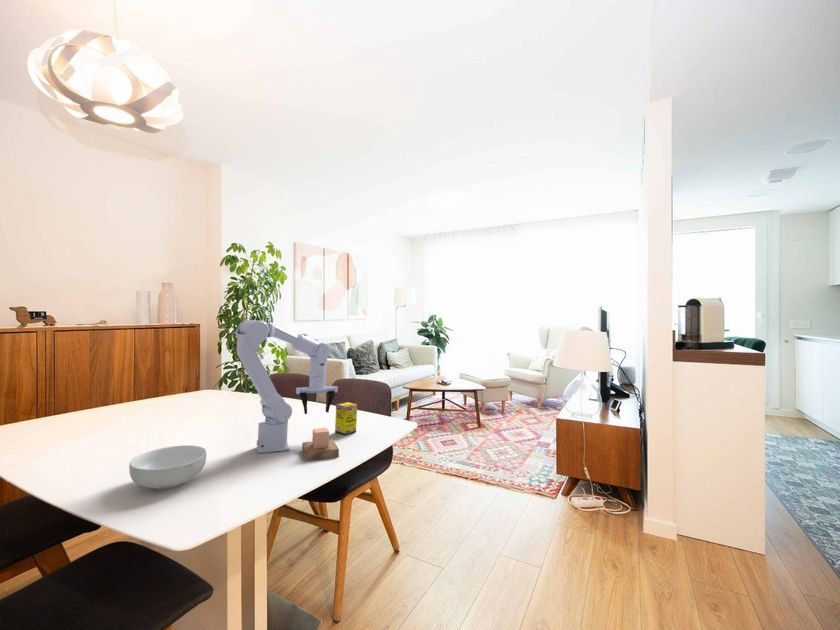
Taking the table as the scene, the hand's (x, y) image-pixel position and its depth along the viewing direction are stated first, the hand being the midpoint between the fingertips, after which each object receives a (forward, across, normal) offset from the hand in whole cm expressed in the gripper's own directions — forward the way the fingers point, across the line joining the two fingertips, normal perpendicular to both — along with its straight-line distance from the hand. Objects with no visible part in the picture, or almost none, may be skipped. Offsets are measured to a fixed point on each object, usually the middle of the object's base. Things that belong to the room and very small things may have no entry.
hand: (316, 412), depth 137 cm
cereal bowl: (+10, -41, -25) cm, 49 cm away
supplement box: (+10, +12, +4) cm, 16 cm away
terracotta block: (+7, -1, -16) cm, 17 cm away
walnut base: (+9, -1, -16) cm, 19 cm away
